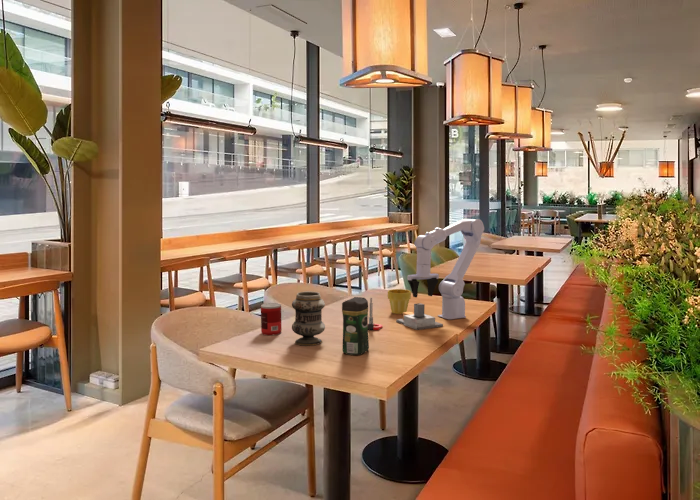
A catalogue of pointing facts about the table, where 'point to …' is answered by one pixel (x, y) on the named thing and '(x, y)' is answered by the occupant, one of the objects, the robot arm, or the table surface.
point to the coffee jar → (355, 326)
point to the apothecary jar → (308, 317)
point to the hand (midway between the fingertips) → (422, 296)
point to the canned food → (271, 319)
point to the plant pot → (399, 300)
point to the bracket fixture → (418, 321)
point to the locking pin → (419, 310)
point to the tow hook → (370, 324)
